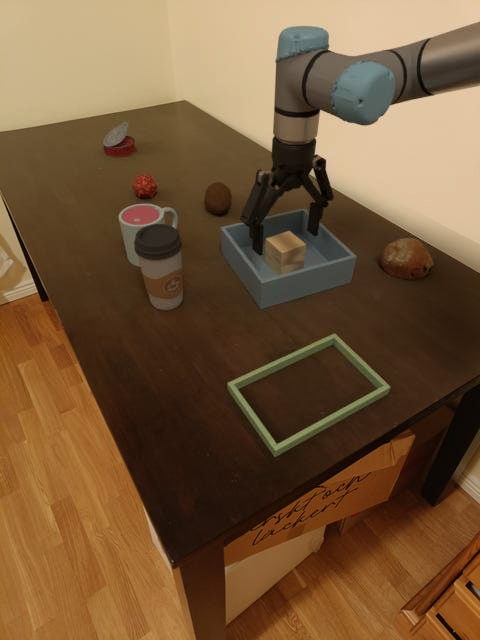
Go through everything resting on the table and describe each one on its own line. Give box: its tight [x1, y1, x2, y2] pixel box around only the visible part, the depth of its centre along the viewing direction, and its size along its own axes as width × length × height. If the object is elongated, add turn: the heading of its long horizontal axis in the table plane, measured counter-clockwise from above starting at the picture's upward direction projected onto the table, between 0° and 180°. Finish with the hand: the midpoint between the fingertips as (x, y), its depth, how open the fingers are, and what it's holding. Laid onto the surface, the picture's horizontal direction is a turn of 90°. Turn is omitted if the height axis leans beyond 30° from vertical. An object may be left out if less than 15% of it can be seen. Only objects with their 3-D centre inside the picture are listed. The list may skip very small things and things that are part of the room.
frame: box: [227, 332, 392, 458], centre depth 67 cm, size 22×14×2 cm, turn 120°
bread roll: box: [379, 237, 435, 281], centre depth 90 cm, size 10×10×8 cm
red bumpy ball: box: [131, 174, 159, 199], centre depth 113 cm, size 6×7×8 cm
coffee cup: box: [134, 223, 184, 312], centre depth 79 cm, size 8×8×15 cm
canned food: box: [102, 121, 137, 158], centre depth 134 cm, size 11×10×10 cm
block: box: [265, 231, 306, 275], centre depth 89 cm, size 6×6×6 cm
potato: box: [204, 181, 233, 215], centre depth 107 cm, size 7×10×7 cm
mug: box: [118, 203, 179, 268], centre depth 93 cm, size 14×9×10 cm
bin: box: [219, 207, 358, 310], centre depth 90 cm, size 21×21×6 cm
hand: (285, 242), depth 87 cm, fingers open, 13 cm apart
